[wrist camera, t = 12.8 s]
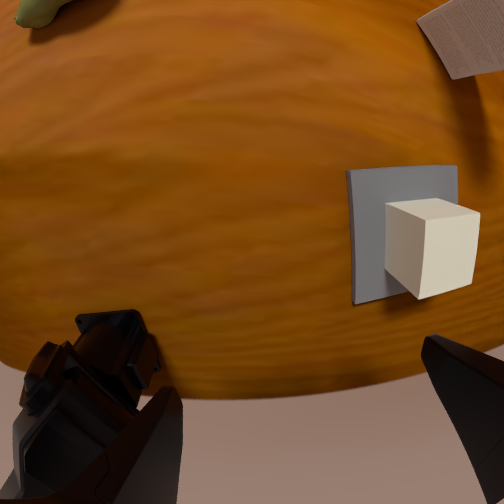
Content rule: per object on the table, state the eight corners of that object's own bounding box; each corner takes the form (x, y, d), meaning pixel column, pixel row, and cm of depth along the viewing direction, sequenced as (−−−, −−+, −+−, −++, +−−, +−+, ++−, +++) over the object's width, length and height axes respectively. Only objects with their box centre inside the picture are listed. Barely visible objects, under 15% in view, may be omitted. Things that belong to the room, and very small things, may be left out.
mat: (351, 299, 21) (355, 304, 21) (346, 170, 18) (350, 171, 17) (446, 275, 21) (451, 279, 20) (451, 164, 18) (457, 165, 17)
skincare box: (473, 69, 15) (571, 58, 3) (450, 81, 15) (561, 67, 4) (439, 12, 13) (527, -24, 2) (413, 19, 14) (509, -29, 2)
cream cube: (384, 268, 20) (418, 299, 15) (385, 203, 18) (425, 220, 13) (434, 258, 20) (471, 283, 15) (437, 198, 18) (480, 213, 13)
